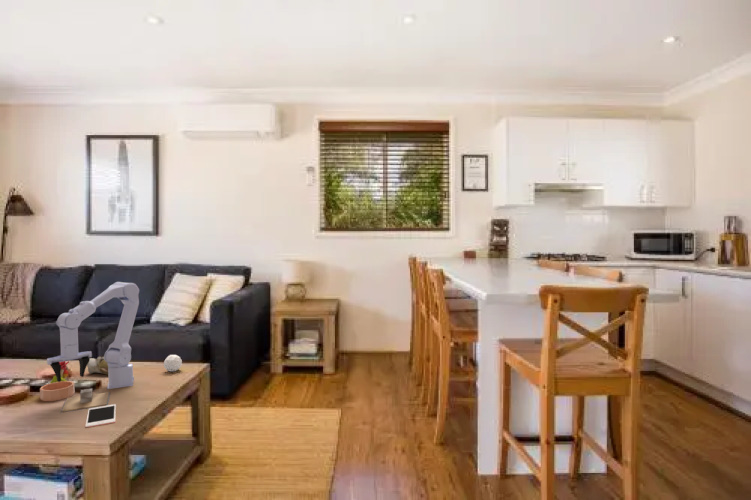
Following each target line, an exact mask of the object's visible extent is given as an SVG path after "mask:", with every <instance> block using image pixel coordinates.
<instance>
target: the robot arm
mask: <svg viewBox="0 0 751 500" xmlns="http://www.w3.org/2000/svg"><path fill="white" fill-rule="evenodd" d="M139 293H140V288H139V287H138V285H137V284H136V283H135V282H122V281H116V282H114V283H113V284H111V285H109V286H108V287H107V288H106V289H105V290H104V291H102V292H101V293H99V294H98V295H97V296H95V297H94V298H93V299H91V300H84V301H80V302H79V304H78V305H76V306H75V307H73V308H70V309H69V310H68V312H63V313H61V314H60V315H59V316H58V318H57V320H56V321H55V324H56V326H57V327H58V328H59V335H60V336H59V338H60V339H59V340H60V355H57V356H53V357H48V358H46V364H47V365H50V367H51V369H52V370H53V372H54V374H55V376H56V377H57V381H58V382H61V374H60V371H61V365H60V363H59V362H64V361H65V362H68V361H69V362H70V361H74V360H78V361H79V362H78V363H79V376H80V377H81V378H83V377H84V375H85V372H86V368H87V364H88V362H89V360H90V358H92V357H93V353H92V351H91V350H89V351H81V352H79V331H78V330H79V327H80V325H81V323H82V321H84V320H86V319H87V318H88V317H90V316H92V314H94V313H96V309H97V308H99V307H100V306H101V305H103V304H105V303H106V302H109V301H110V300H111V299H115V298H117V299H118V300H120V302H121V303H122V304H123V308H122V313H121V316H120V319H119V322H118V326H117V330H116V334H115V338H114V341H113V342H112V343H110V344H109V345H108V348H107V350H106V351H105V352H104V360H105V361H106V362H107V364H108V374H107V375H108V377H107V378H108V383H107V390H110V389H117V388H118V389H119V388H124V387H126V388H128V387H132V386H134V381H135V377H134V368H133V365H134V364H133V363H130V362H131V360H132V354H131V353H132V347H131V345H130V344H129V343H130V342H129V341H130V339H131V335H132V331H133V327H134V323H135V320H136V316H137V313H138V309H139V306H140V299H139V295H140V294H139Z"/></svg>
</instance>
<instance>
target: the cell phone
mask: <svg viewBox="0 0 751 500" xmlns="http://www.w3.org/2000/svg"><path fill="white" fill-rule="evenodd" d="M116 408H117V404H116V403H114V404H108V405H106V406H101V407H95V408H89V409H87V416H86V421H85V425H84V427H89V428H92V427H93V426H94V427H100V426H105V424H106V425H110V423H112V424H115V423H116V415H117V413H116V411H117V409H116ZM99 425H100V426H99ZM94 427H93V428H94Z"/></svg>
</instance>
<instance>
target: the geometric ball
mask: <svg viewBox="0 0 751 500" xmlns="http://www.w3.org/2000/svg"><path fill="white" fill-rule="evenodd" d="M182 363H183V361H182V359H181V356H179V355H177V354H169V355H168V356H167V357H166V358H165V360H164V361H163V367H164V368H165V370H167V372H177V371H178V370H179V369H180V368H181V366H182V365H183V364H182Z"/></svg>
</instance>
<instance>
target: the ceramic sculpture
mask: <svg viewBox="0 0 751 500" xmlns="http://www.w3.org/2000/svg"><path fill="white" fill-rule="evenodd" d="M104 355H105V354H104ZM104 355H99V356H97V358H94V357H93V358H92V357H89V358H90V360H89V362H88V364H87V366H86V368H87V372H88V374H90V375H92V374H94V373H97V374H98V373H99V374H103V375H108V364H107V362H106V361H105V360H104Z"/></svg>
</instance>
